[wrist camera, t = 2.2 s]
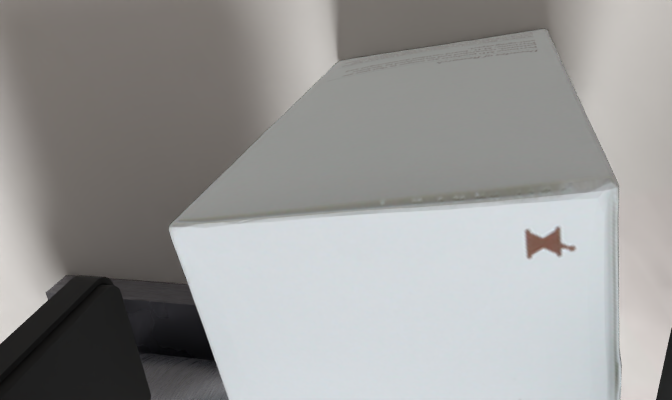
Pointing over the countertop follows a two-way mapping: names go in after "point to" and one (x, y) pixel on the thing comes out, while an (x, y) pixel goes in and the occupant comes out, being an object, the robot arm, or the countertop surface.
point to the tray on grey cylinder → (168, 340)
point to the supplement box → (416, 236)
